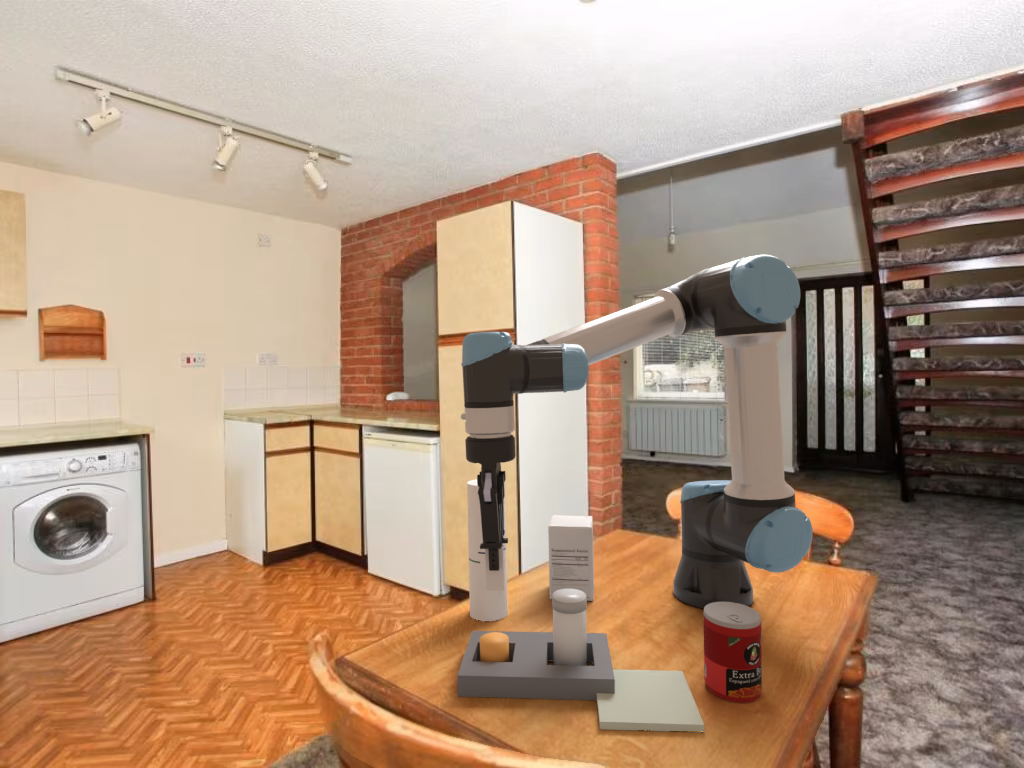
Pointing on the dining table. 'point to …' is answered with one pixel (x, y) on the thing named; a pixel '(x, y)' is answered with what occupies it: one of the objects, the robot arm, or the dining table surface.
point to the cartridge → (569, 627)
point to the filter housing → (536, 670)
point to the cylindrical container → (482, 565)
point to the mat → (649, 702)
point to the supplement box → (571, 554)
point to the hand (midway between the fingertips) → (496, 588)
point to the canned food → (732, 651)
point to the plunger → (494, 647)
